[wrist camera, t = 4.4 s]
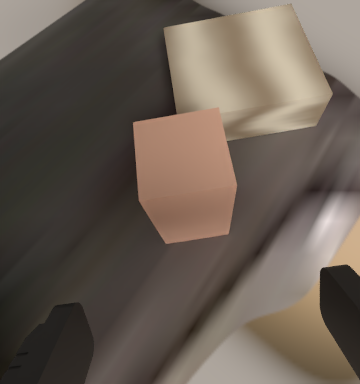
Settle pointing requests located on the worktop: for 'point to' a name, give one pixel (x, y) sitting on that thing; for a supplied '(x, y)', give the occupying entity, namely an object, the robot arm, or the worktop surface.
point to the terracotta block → (185, 175)
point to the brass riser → (248, 71)
